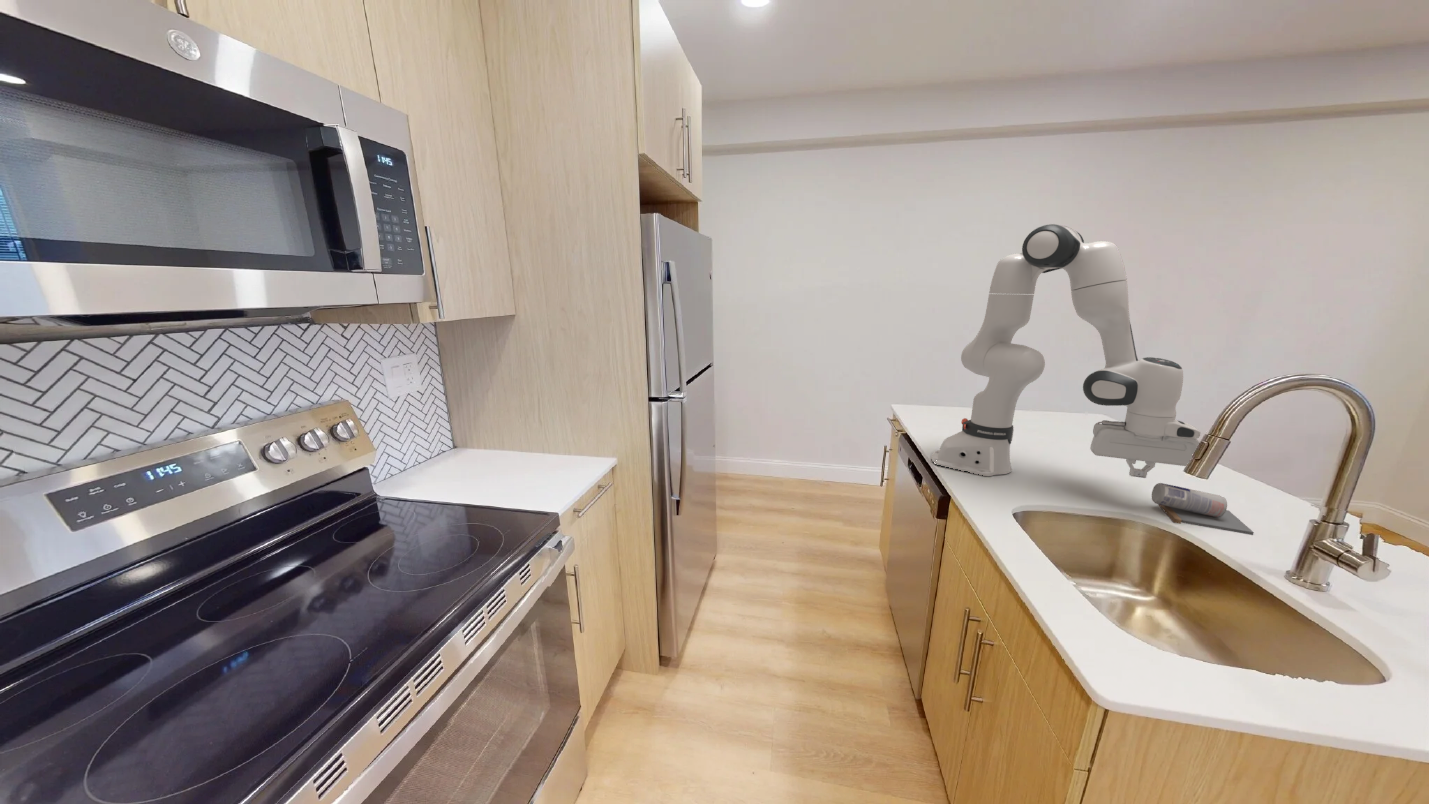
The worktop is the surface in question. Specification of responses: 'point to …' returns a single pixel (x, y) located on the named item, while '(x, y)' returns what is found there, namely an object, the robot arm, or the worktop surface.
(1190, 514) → the mat
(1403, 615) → the worktop surface
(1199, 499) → the energy drink
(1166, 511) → the brown thin bar
